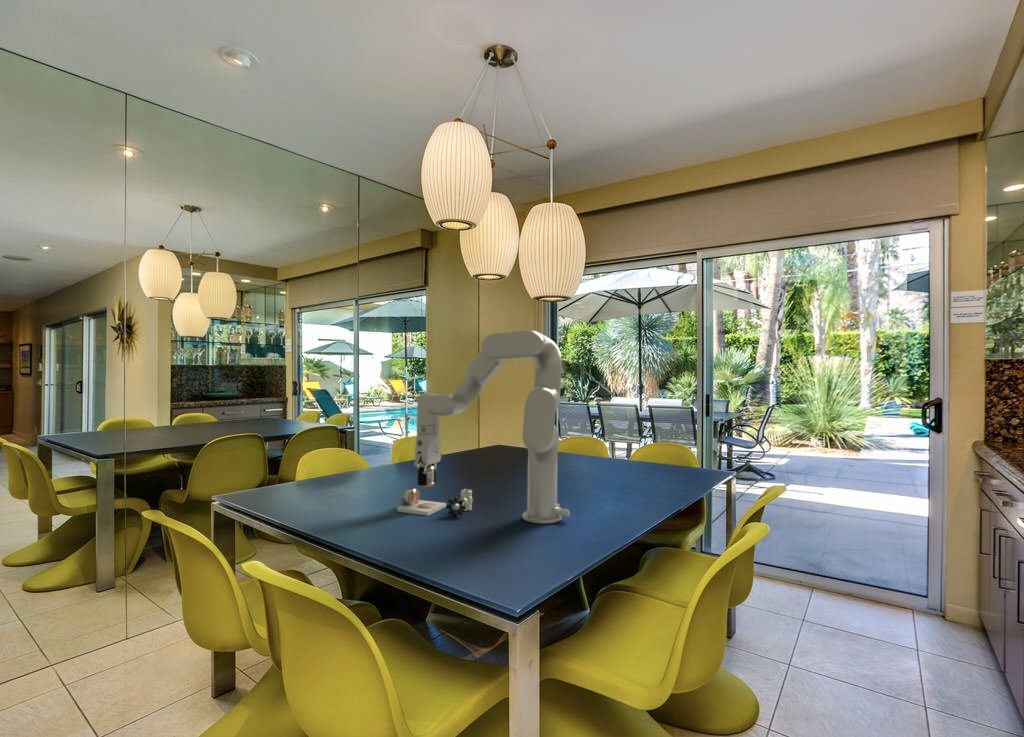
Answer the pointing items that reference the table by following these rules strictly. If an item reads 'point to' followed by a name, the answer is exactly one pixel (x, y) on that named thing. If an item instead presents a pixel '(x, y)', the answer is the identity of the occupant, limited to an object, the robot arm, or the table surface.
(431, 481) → the coupling
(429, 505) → the plate
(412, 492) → the fixed stub
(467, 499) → the valve
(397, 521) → the table surface
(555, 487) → the robot arm
